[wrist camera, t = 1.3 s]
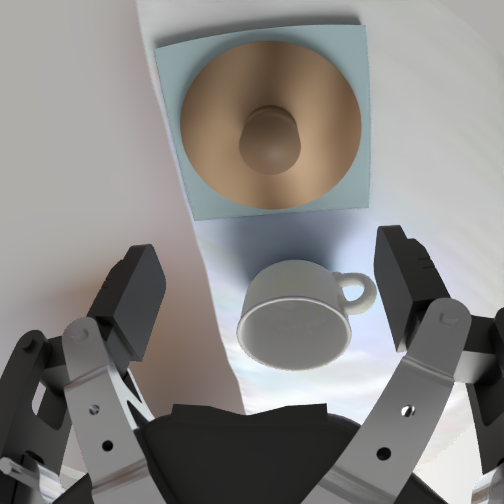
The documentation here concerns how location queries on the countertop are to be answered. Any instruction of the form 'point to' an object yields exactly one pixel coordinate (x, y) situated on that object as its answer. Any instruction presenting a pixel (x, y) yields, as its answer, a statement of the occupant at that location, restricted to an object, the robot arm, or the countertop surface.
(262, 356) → the teacup
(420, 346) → the robot arm
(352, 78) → the mat
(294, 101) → the lid
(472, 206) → the countertop surface
